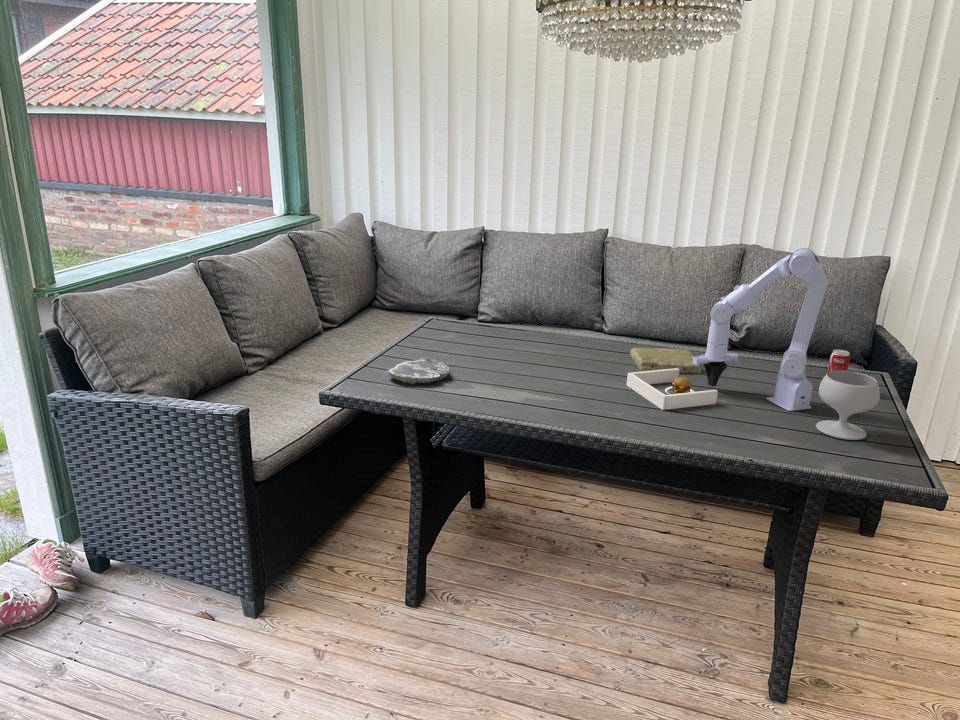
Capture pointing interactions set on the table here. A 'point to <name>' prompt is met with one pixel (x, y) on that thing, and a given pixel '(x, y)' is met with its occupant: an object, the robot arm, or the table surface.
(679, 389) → the hamburger
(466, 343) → the table surface
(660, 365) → the decorative tile
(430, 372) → the brain slice
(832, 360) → the soda can
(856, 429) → the chalice
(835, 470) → the table surface
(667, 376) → the box
